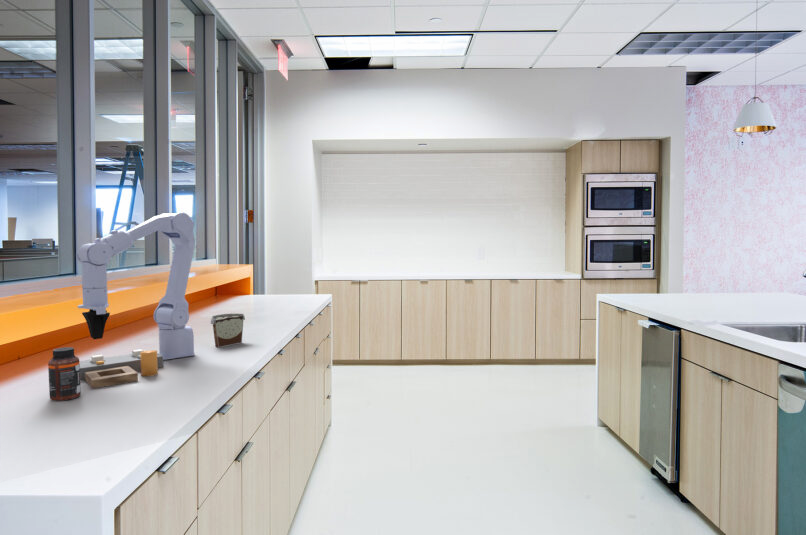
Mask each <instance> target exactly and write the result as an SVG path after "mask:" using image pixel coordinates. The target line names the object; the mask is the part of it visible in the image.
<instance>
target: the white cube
mask: <svg viewBox="0 0 806 535" xmlns="http://www.w3.org/2000/svg"><path fill="white" fill-rule="evenodd" d="M90 358H91V360H92V363H96V362H97V361H104V358H105V357H104V355H103V354H97V355H95V354H94V355H91V357H90Z"/></svg>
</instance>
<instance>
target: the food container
mask: <svg viewBox="0 0 806 535" xmlns="http://www.w3.org/2000/svg"><path fill="white" fill-rule="evenodd" d="M245 320H246V318H245V315H244V313H222V314H217V315H215V314H214V315H212V317H211V319H210V325H212V330H213V338H214V339H213V340H214V346H215V347H216V348H217V349H218V348H222V347H223V348H224V347H227V346H228V347H229V346H233V345H238V343H239V344H242V343H243V334H244V333H243V332H244V331H243V330H244V329H243V328H244V321H245Z"/></svg>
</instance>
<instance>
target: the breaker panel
mask: <svg viewBox="0 0 806 535" xmlns="http://www.w3.org/2000/svg"><path fill="white" fill-rule="evenodd" d="M79 362H80V381H82V380H85V372H89V371H95V370H102V369H108V368H115V367H122V366H129V367H131V368H132V369H133V370H134V371H136V372H141V358H140V355H139V356H138V357H134V358H133V357H132V353H129V354H121V355H114V356H108V357H104V361H97V362H96V363H92V359H87V360H86V359H85V360H79ZM157 365H158V368H163V367H164V360H163V356H161V355H160V354H159V353H158V352H157Z"/></svg>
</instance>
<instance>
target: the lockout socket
mask: <svg viewBox="0 0 806 535" xmlns="http://www.w3.org/2000/svg"><path fill="white" fill-rule="evenodd" d="M84 380H85V382H86V383H87V384H88V385H89V386H90V387H91V389H97V388H103V387H104V388H105V387H108V386H109V387H110V386H115V385H121V384H122V385H123V384H126V383H131V382H138V381H139V373H138V371H134V370H133V369H132V368H131V367H129V366H122V367H115V368H108V369H102V370H95V371H89V372H85V379H84Z"/></svg>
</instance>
